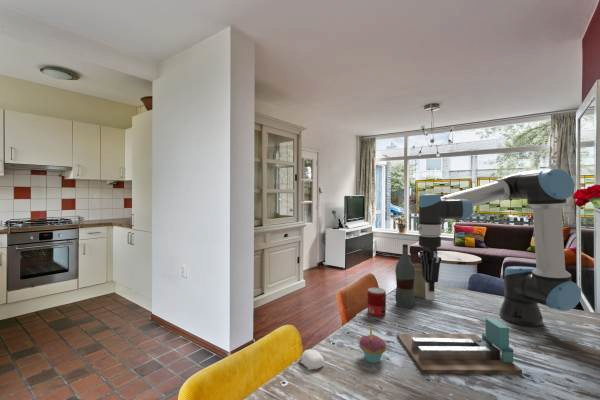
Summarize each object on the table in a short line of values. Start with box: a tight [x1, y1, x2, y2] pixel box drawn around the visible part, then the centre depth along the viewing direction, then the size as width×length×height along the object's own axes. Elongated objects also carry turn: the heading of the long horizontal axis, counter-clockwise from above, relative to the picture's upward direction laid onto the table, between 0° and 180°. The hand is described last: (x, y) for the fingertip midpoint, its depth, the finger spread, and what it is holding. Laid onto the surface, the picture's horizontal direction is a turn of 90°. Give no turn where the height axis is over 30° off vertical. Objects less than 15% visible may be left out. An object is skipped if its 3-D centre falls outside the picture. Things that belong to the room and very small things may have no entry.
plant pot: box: [413, 263, 426, 299], centre depth 156 cm, size 15×15×16 cm
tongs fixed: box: [419, 338, 501, 360], centre depth 96 cm, size 25×7×3 cm, turn 90°
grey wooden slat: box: [412, 338, 475, 350], centre depth 99 cm, size 20×2×3 cm, turn 87°
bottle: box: [394, 243, 416, 309], centre depth 143 cm, size 9×9×30 cm
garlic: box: [300, 348, 325, 371], centre depth 92 cm, size 8×7×4 cm
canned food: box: [367, 287, 387, 318], centre depth 132 cm, size 8×8×11 cm
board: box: [396, 333, 523, 375], centre depth 98 cm, size 30×23×1 cm
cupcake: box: [359, 324, 387, 364], centre depth 95 cm, size 9×8×12 cm
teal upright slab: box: [481, 318, 514, 363], centre depth 96 cm, size 3×11×10 cm, turn 0°
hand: (430, 299), depth 107 cm, fingers closed
